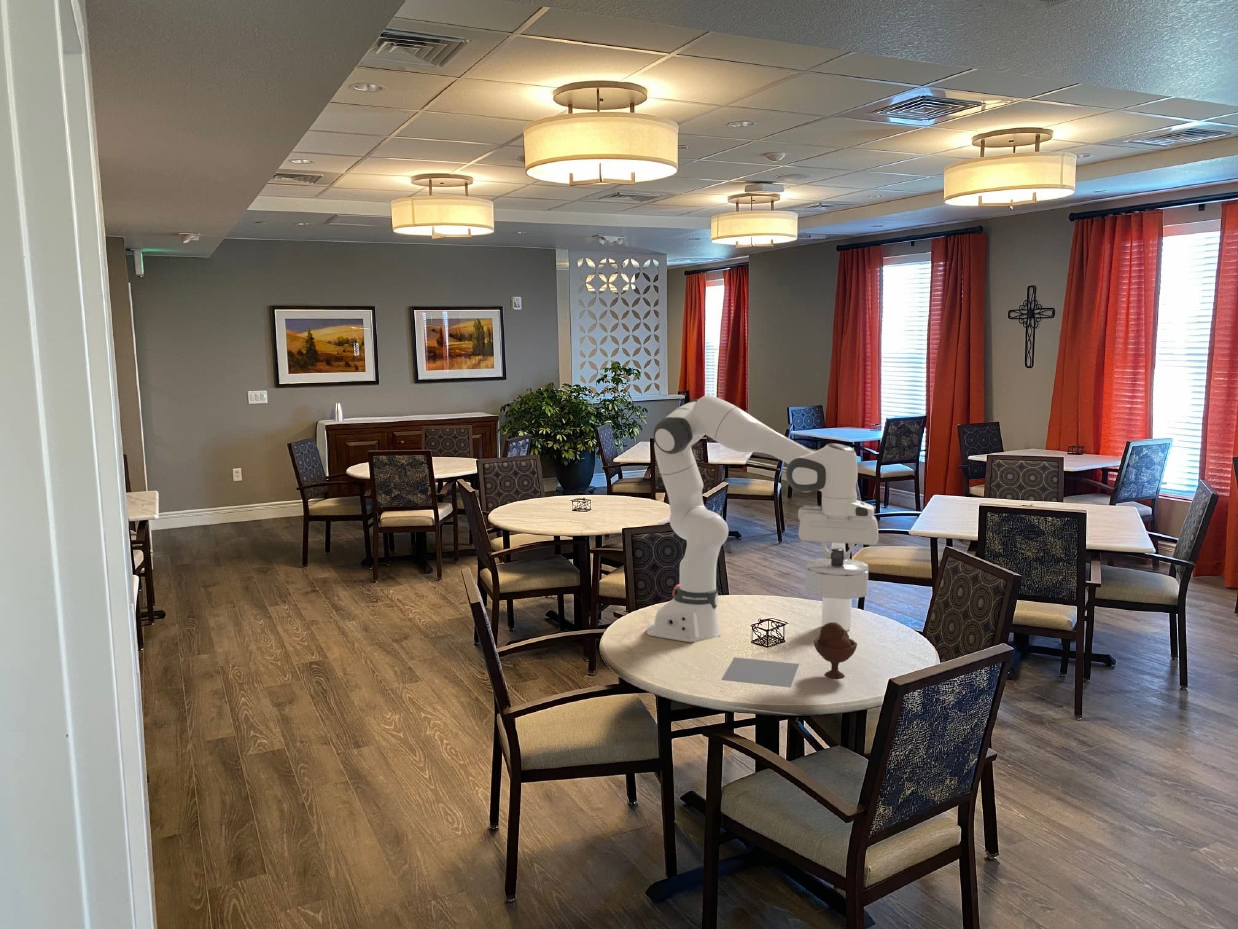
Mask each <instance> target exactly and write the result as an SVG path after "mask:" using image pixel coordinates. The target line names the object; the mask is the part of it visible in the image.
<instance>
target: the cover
mask: <svg viewBox="0 0 1238 929" xmlns="http://www.w3.org/2000/svg"><path fill="white" fill-rule="evenodd" d="M830 551H831V559H825V557H818V558H812V559H809V560H808V561H807V562H806V568H805V578H804V579H805V582H804V584H805V586H804V589H805V590H804V592H806V593H807V594H811V595H813V596H816V597H820V598H821V599H823V598H835V599H852V600H853V599H859V598H864V597H867V596H868V589H869V565H868V564H867V563H866V562H863V561H860V560H857V559H852V558H850V559H849V560H843V558H844V549H841V548H833V549H832V548H831V550H830Z"/></svg>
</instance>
